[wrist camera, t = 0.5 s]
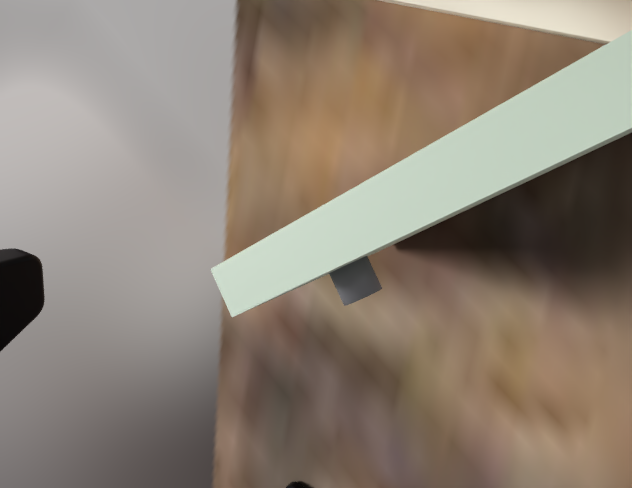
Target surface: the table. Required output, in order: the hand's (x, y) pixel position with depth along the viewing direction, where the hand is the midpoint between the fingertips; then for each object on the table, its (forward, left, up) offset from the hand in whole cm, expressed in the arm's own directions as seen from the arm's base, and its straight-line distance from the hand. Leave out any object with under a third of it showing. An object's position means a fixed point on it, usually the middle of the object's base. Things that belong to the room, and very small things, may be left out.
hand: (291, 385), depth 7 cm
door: (+1, +1, -15) cm, 15 cm away
